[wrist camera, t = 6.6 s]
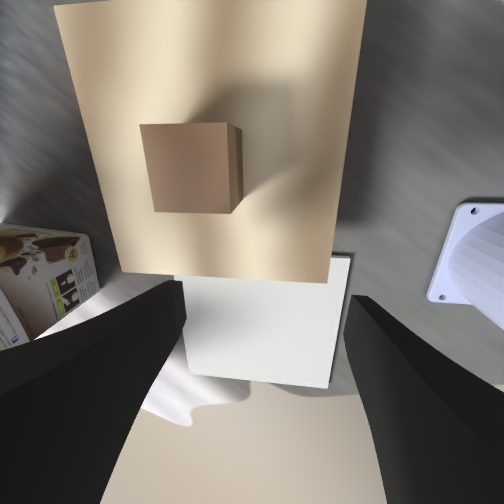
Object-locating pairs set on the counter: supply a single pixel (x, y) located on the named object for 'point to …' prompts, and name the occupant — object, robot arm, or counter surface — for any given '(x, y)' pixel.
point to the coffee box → (41, 280)
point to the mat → (264, 327)
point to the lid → (218, 129)
